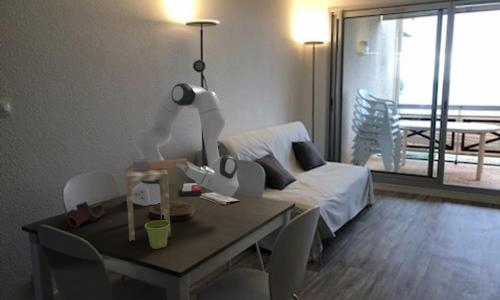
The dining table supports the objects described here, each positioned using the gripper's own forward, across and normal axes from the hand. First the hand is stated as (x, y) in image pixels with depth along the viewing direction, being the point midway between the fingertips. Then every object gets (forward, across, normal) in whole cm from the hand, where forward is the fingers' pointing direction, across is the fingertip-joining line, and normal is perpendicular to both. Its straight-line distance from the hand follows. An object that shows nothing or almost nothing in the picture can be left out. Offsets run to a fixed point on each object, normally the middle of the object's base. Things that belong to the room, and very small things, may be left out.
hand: (175, 162), depth 173 cm
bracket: (+19, -18, +44) cm, 51 cm away
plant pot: (-6, +20, +29) cm, 36 cm away
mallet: (+5, 0, +5) cm, 8 cm away
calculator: (-27, -53, +18) cm, 62 cm away
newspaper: (-37, -34, +12) cm, 52 cm away
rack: (-4, 0, +30) cm, 31 cm away
